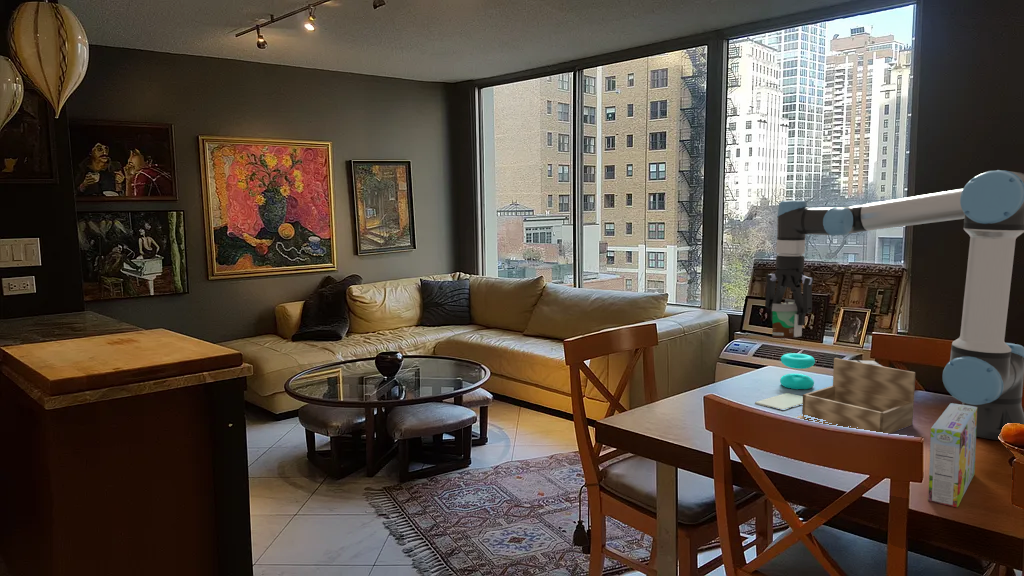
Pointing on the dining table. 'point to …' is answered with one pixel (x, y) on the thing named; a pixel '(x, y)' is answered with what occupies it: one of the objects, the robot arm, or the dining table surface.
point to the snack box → (952, 454)
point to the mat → (782, 401)
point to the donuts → (799, 363)
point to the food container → (784, 319)
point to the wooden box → (864, 398)
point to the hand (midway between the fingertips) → (786, 334)
